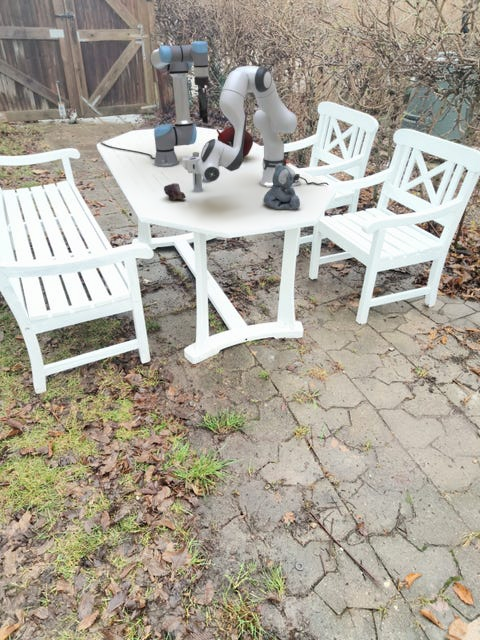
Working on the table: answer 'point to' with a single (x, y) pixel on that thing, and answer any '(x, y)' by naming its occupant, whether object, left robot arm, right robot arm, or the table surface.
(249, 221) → the table surface
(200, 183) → the bottle
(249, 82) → the right robot arm
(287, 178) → the koala plush
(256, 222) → the table surface
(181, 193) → the rock
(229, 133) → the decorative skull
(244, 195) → the table surface
